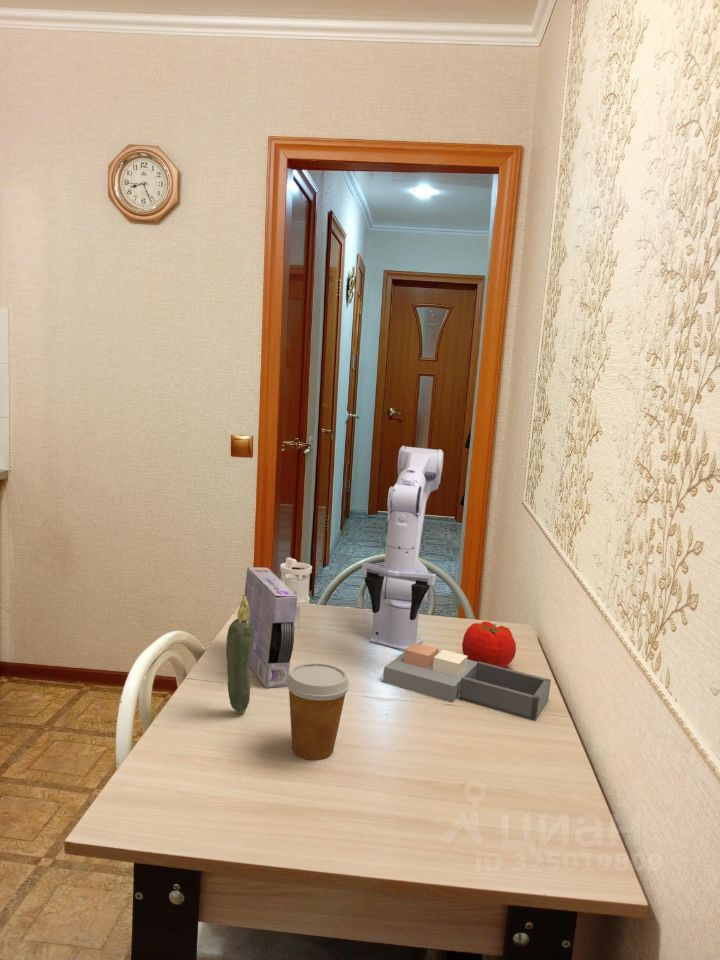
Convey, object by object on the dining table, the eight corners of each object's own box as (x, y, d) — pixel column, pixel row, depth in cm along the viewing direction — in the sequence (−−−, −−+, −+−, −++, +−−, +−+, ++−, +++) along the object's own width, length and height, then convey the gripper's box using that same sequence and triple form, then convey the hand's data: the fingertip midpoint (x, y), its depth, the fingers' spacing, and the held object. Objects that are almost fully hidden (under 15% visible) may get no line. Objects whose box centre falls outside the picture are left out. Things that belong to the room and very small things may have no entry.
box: (459, 698, 130) (461, 678, 130) (476, 680, 139) (478, 661, 138) (535, 720, 124) (538, 698, 123) (548, 700, 133) (550, 679, 132)
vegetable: (243, 722, 114) (250, 602, 112) (217, 718, 115) (224, 599, 113) (252, 711, 119) (260, 595, 116) (228, 706, 120) (235, 591, 117)
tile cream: (432, 669, 135) (433, 657, 134) (441, 661, 139) (443, 649, 139) (457, 676, 133) (458, 663, 132) (466, 668, 137) (467, 655, 137)
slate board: (382, 681, 135) (384, 666, 134) (411, 659, 147) (413, 645, 147) (452, 702, 128) (454, 686, 128) (477, 676, 141) (478, 662, 140)
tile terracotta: (403, 662, 137) (404, 649, 137) (413, 654, 142) (414, 642, 142) (427, 668, 135) (428, 656, 135) (437, 660, 140) (438, 648, 139)
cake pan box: (292, 689, 129) (299, 594, 126) (266, 692, 126) (272, 595, 124) (261, 649, 146) (267, 565, 143) (237, 651, 144) (242, 566, 141)
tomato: (518, 678, 142) (523, 636, 141) (463, 673, 142) (467, 631, 141) (508, 658, 152) (512, 619, 151) (457, 653, 152) (461, 614, 151)
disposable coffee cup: (347, 737, 112) (353, 665, 111) (339, 769, 103) (346, 691, 101) (288, 730, 113) (293, 658, 112) (275, 761, 104) (280, 683, 102)
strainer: (296, 618, 166) (300, 555, 164) (313, 628, 161) (318, 563, 159) (270, 622, 162) (274, 558, 160) (287, 632, 156) (291, 566, 154)
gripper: (358, 543, 137) (352, 612, 138) (431, 554, 132) (423, 626, 133) (371, 539, 143) (365, 605, 144) (441, 550, 138) (434, 618, 139)
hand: (394, 615), depth 139 cm, fingers open, 7 cm apart
